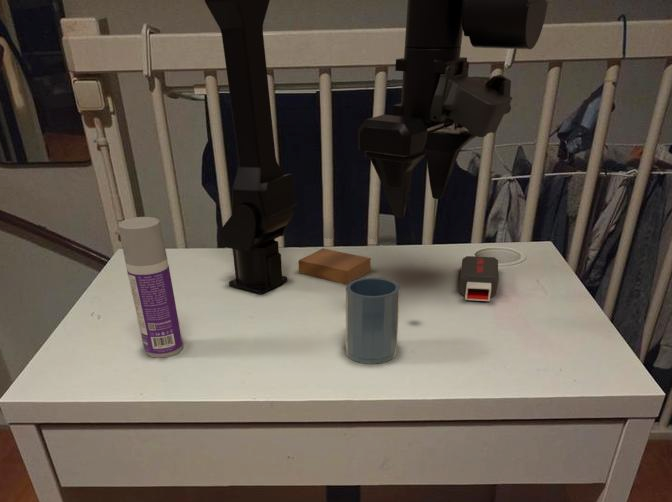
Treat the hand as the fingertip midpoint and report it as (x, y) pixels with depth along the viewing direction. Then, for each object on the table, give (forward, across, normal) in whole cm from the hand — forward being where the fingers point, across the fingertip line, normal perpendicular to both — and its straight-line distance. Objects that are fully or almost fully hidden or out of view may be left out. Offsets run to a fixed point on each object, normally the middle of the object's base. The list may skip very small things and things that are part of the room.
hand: (418, 207), depth 73 cm
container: (+14, -24, +21) cm, 35 cm away
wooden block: (+14, +9, +18) cm, 24 cm away
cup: (+14, -11, -1) cm, 18 cm away
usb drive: (+14, +15, -3) cm, 20 cm away
